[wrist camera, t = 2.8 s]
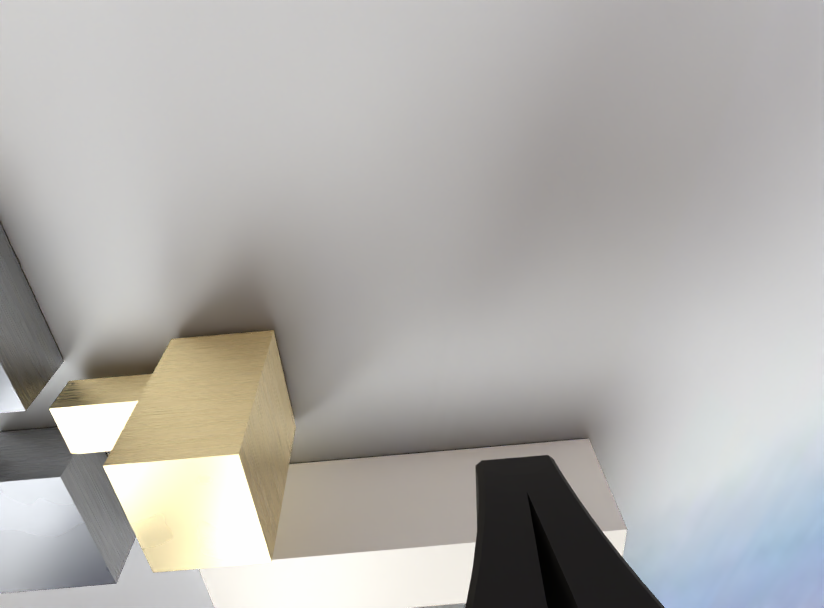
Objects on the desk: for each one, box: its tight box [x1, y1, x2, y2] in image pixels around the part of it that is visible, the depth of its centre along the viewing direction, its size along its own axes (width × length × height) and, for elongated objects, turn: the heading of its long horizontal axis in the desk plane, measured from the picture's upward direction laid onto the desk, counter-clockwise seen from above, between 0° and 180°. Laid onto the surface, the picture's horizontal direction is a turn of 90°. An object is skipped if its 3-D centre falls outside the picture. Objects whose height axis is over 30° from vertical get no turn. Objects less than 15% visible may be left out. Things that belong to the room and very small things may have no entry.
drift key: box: [49, 330, 296, 573], centre depth 13 cm, size 3×5×4 cm, turn 94°
